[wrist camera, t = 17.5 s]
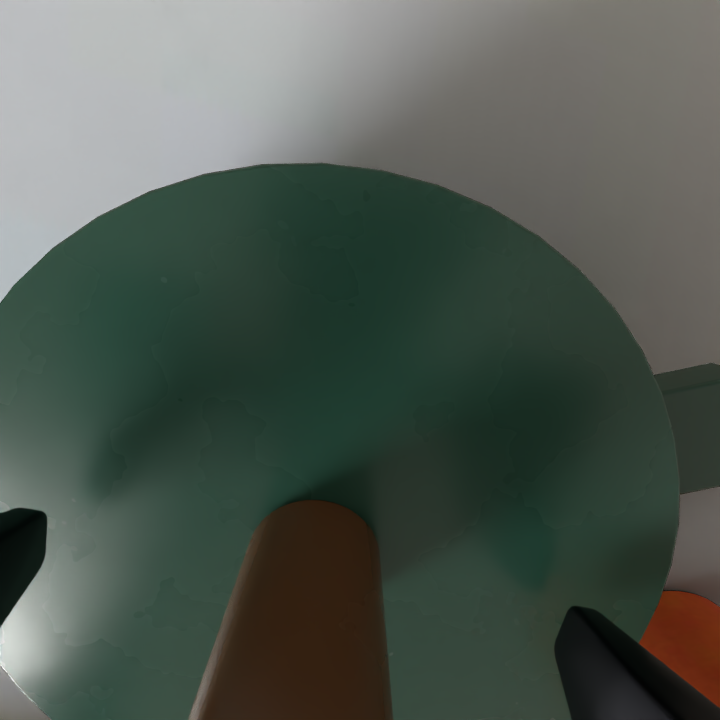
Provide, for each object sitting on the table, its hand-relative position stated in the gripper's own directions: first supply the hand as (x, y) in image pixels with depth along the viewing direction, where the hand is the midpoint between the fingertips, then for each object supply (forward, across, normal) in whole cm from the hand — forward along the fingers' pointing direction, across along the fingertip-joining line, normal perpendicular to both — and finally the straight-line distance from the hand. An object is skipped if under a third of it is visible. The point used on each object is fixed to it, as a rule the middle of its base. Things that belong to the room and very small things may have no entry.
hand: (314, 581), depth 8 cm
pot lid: (+1, 0, 0) cm, 1 cm away
